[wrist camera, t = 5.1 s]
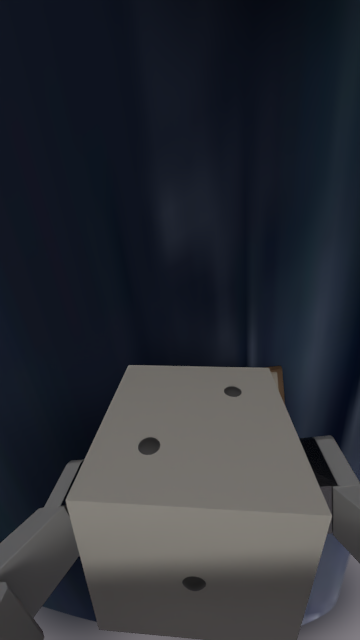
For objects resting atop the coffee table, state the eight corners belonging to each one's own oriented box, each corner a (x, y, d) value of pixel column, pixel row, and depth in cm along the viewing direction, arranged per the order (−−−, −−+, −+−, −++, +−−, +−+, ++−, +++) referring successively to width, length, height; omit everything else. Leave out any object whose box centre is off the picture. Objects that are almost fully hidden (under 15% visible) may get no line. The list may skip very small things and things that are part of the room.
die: (256, 470, 11) (295, 654, 7) (136, 465, 12) (93, 635, 7) (269, 365, 10) (335, 517, 5) (125, 362, 10) (56, 501, 5)
